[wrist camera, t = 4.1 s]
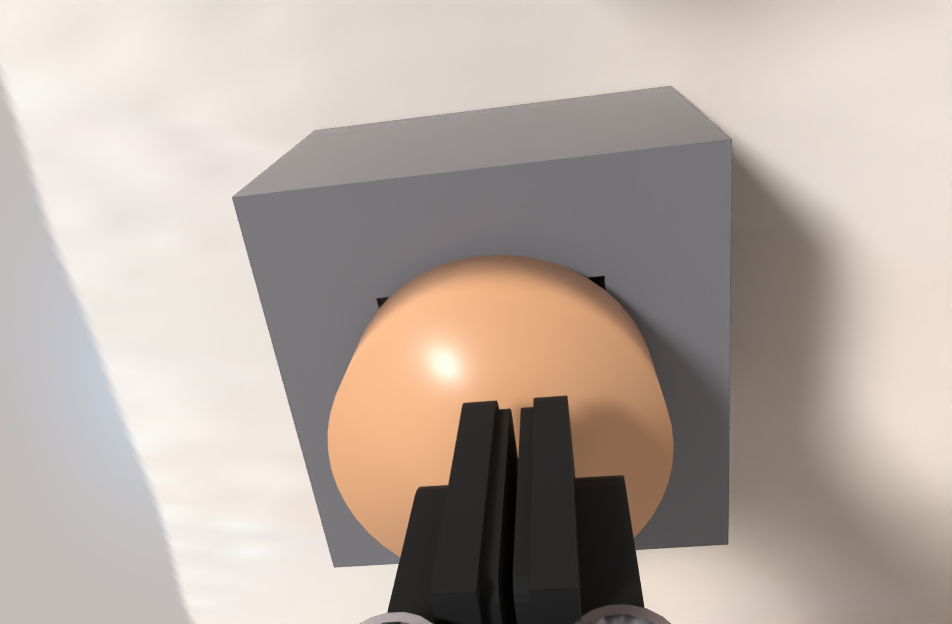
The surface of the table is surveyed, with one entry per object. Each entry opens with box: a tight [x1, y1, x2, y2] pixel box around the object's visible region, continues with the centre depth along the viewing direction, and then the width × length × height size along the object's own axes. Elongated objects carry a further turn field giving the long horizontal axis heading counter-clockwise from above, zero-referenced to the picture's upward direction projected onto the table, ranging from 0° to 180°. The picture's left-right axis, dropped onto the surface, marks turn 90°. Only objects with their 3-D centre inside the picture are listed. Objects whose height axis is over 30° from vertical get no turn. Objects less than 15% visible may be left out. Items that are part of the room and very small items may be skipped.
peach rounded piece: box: [328, 255, 674, 557], centre depth 16 cm, size 6×6×7 cm
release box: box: [232, 86, 732, 567], centre depth 18 cm, size 9×9×6 cm
